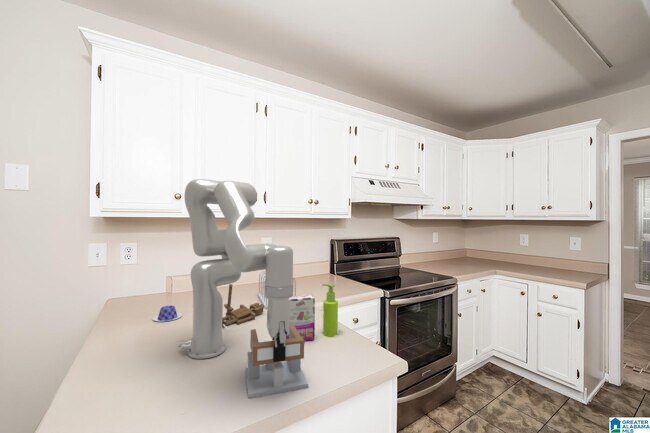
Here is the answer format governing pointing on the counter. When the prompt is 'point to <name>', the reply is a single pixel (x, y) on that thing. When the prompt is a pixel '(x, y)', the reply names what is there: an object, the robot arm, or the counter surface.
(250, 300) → the counter surface
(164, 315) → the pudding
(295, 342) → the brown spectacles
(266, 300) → the file sorter
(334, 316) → the soap dispenser
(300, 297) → the candy bar box
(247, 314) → the wooden figure
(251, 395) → the grey post plate
